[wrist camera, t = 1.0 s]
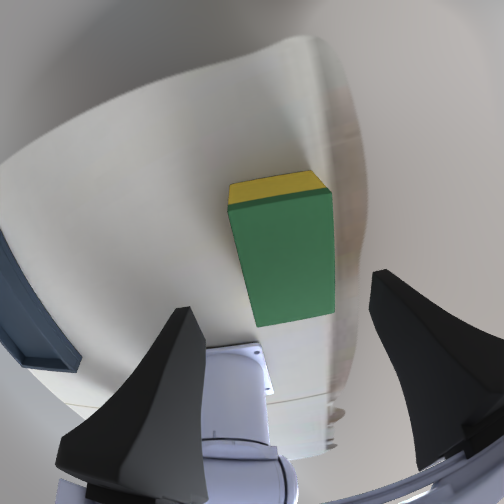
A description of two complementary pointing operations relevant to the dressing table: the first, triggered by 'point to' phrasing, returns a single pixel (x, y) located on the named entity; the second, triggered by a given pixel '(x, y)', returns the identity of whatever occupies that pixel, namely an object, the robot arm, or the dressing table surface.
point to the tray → (30, 323)
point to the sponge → (285, 246)
